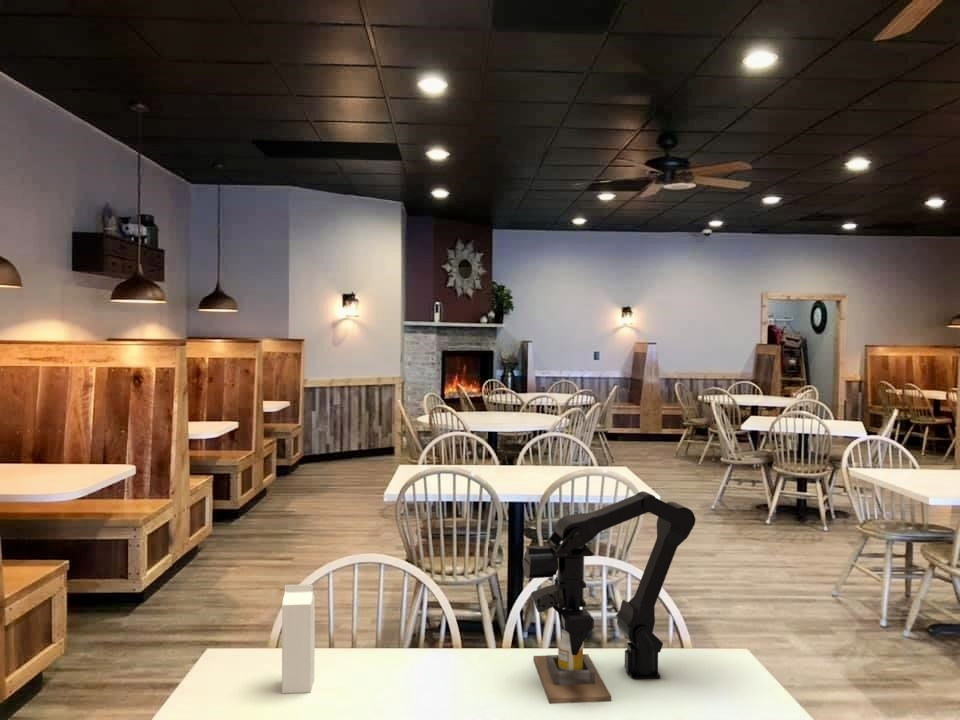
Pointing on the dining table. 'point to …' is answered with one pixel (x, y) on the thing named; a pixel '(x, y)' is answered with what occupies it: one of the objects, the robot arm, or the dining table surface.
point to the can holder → (570, 681)
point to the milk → (298, 638)
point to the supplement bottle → (568, 655)
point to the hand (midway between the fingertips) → (569, 645)
